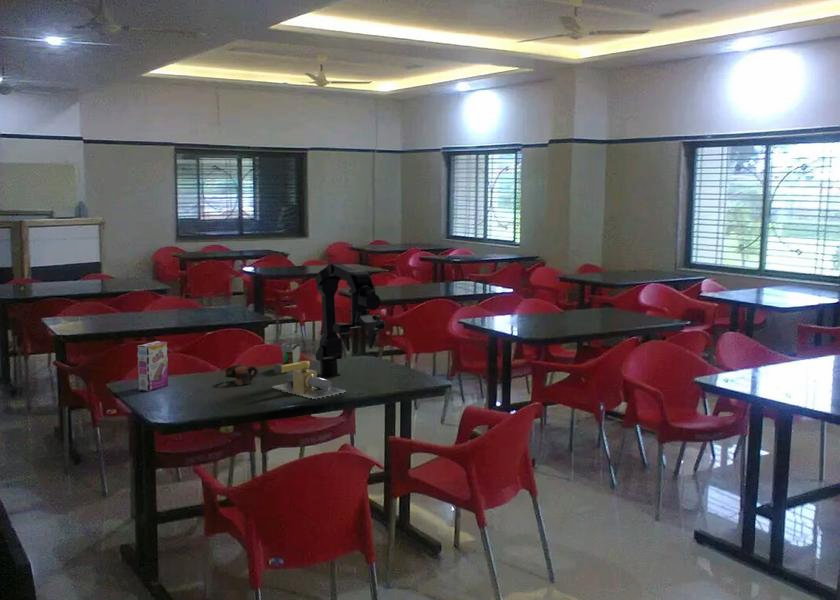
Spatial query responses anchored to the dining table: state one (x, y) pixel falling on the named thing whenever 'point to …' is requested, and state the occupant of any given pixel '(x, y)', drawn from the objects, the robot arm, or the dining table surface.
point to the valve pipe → (308, 384)
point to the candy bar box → (152, 365)
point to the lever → (291, 366)
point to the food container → (291, 352)
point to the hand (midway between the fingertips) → (359, 349)
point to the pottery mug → (241, 373)
